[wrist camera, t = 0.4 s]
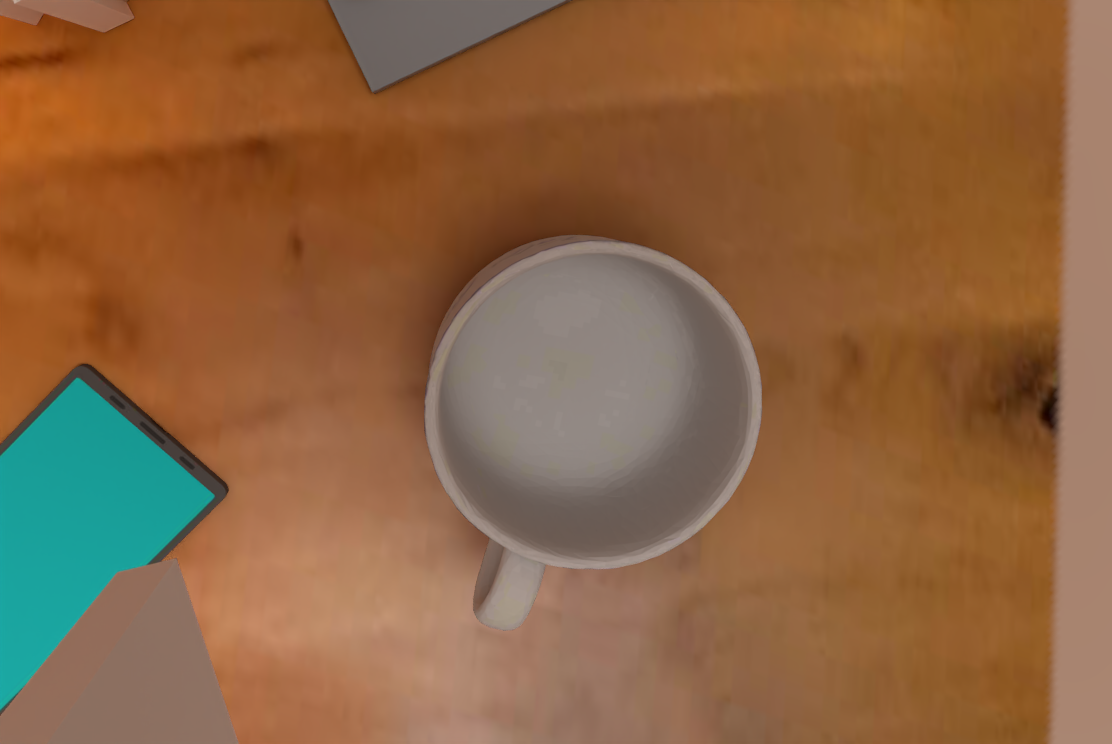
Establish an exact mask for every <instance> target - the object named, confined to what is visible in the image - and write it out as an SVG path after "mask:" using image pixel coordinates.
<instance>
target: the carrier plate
mask: <svg viewBox="0 0 1112 744" xmlns="http://www.w3.org/2000/svg"><path fill="white" fill-rule="evenodd" d="M570 1H572V0H328V2H329V4H330V6H331V8H332V10H333V12H334V14H335V16H336V18H337V20H338V22H339V25H340V27H341V29H342V31H343V33H344V35H345V37H346V39H347V41H348V43H349V45H350V47H351V49H352V51H353V53H354V55H355V58H356V60H357V62H358V64H359V66H360V68H361V70H362V72H363V74H364V76H365V78H366V80H367V82H368V84H369V86H370V88H371V91H372V92H373V93H374V94H376V93H378V92H380V91H382V90H384V89H386V88H388V87H390V86H392V85H395V84H397V83H399V82H401V81H403V80H405V79H407V78H409V77H411V76H414V75H416V74H418V73H420V72H422V71H424V70H426V69H428V68H430V67H433V66H435V65H437V64H439V63H441V62H443V61H445V60H447V59H449V58H452V57H454V56H456V55H458V54H460V53H462V52H464V51H466V50H468V49H471V48H473V47H475V46H477V45H479V44H481V43H483V42H485V41H487V40H490V39H492V38H494V37H496V36H498V35H500V34H502V33H504V32H506V31H509V30H511V29H513V28H515V27H517V26H519V25H521V24H523V23H525V22H528V21H530V20H532V19H534V18H536V17H538V16H540V15H542V14H544V13H547V12H549V11H551V10H553V9H555V8H557V7H559V6H561V5H563V4H566V3H568V2H570Z"/></svg>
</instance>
